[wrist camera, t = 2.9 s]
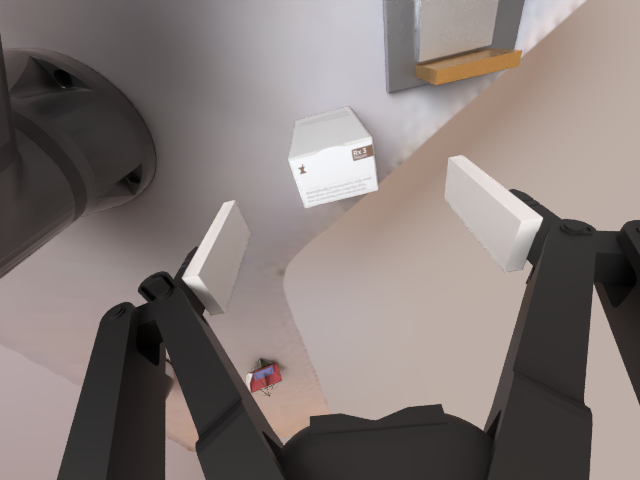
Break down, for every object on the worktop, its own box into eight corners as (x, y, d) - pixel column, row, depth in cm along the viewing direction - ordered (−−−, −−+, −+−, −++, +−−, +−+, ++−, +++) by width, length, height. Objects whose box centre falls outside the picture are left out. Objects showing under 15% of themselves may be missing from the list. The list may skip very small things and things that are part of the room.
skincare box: (305, 158, 30) (302, 214, 20) (293, 117, 27) (282, 160, 17) (358, 144, 29) (381, 196, 19) (351, 100, 26) (373, 136, 16)
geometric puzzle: (288, 364, 55) (260, 397, 50) (289, 378, 59) (264, 410, 54) (264, 345, 58) (236, 374, 53) (267, 360, 63) (242, 389, 57)
